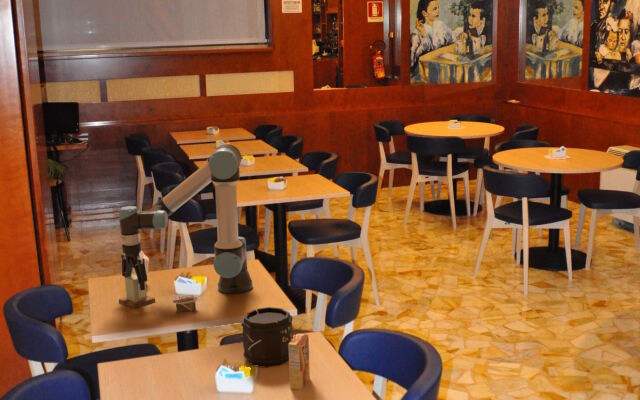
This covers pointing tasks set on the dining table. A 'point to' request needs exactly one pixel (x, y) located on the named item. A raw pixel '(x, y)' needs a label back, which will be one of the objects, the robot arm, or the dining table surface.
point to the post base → (138, 303)
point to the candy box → (299, 361)
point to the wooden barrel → (267, 336)
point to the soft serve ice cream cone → (145, 263)
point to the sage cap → (133, 288)
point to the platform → (185, 303)
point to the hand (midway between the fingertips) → (136, 294)
